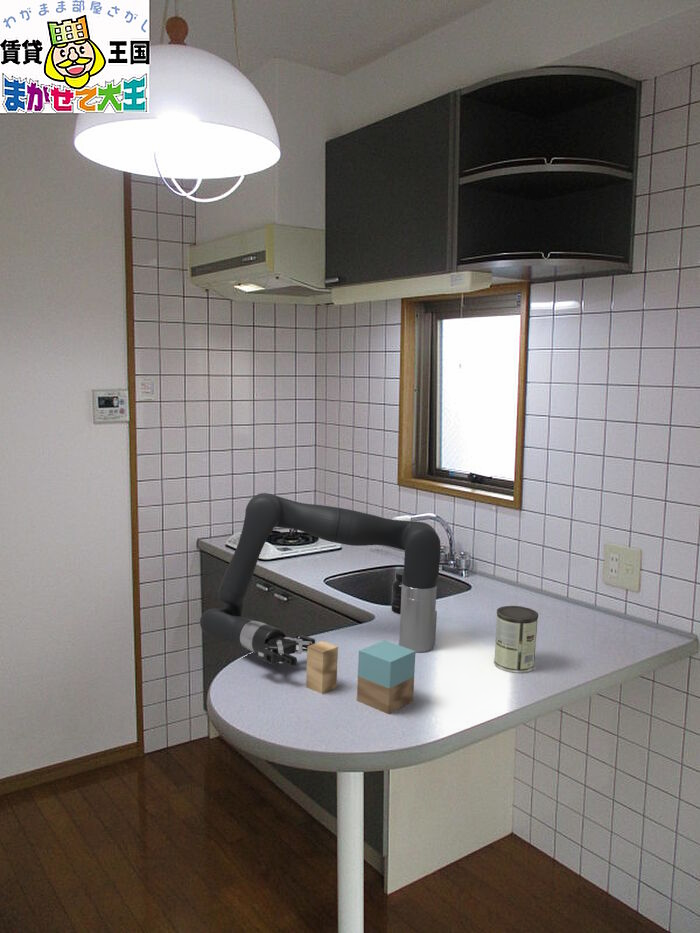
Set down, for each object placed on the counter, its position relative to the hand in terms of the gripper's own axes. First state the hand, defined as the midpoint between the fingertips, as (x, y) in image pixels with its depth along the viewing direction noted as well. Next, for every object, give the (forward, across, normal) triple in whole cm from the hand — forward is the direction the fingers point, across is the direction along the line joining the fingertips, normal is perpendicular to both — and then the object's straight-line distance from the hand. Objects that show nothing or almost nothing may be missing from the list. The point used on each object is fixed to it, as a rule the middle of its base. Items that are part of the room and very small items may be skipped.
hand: (308, 657), depth 183 cm
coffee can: (+29, +45, +6) cm, 54 cm away
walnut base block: (+19, +5, +6) cm, 21 cm away
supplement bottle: (-16, +57, +6) cm, 59 cm away
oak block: (+4, 0, +6) cm, 7 cm away
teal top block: (+19, +5, 0) cm, 20 cm away
